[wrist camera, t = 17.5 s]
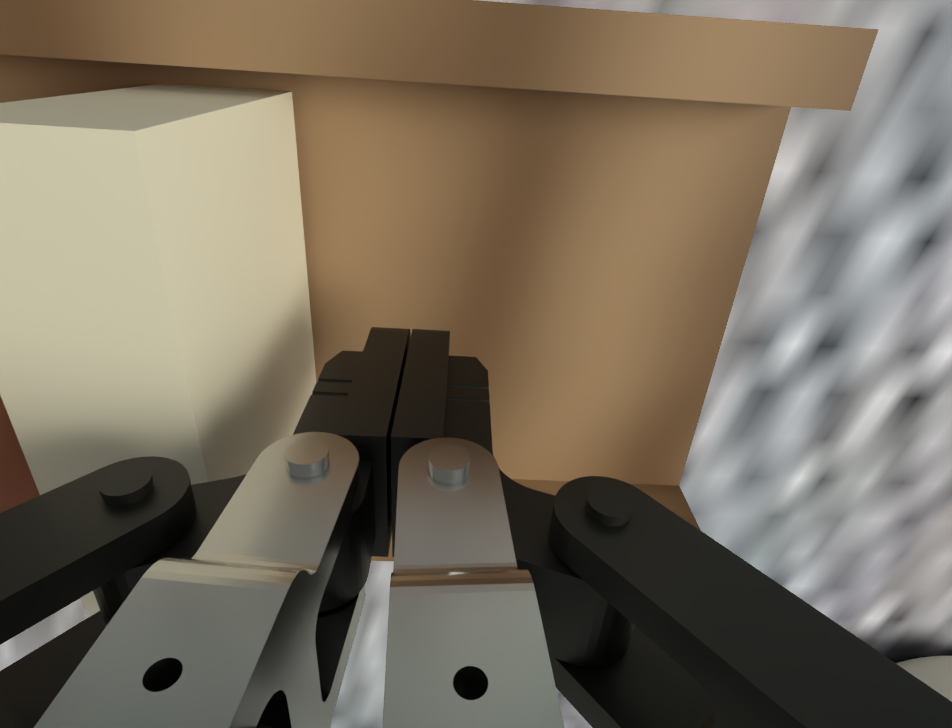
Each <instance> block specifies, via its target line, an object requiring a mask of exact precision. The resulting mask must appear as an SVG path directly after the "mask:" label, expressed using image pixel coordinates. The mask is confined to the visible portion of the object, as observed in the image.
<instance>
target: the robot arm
mask: <svg viewBox="0 0 952 728" xmlns="http://www.w3.org/2000/svg"><path fill="white" fill-rule="evenodd" d="M449 347H450V331H445V330H425V329H413V330H412V334H411V332H410V329H403V328H383V327H372V328H371V330H370V332H369V335H368V338H367V341H366V344H365V347H364V349H363V351H341V352H340V353H338V354H337V355H336V356H334V357H333V358H332V359H330V360H329V361H328V362H326V363H325V365H324V367H323V369H322V371H321V374H320V376H319V378H318V382H316V385H315V387H314V389H313V391H312V395H310V398H309V400H308V402H307V404H306V406H305V409H304V411H303V413H302V415H301V417H300V420H299V422H298V424H297V426H296V428H295V431H294V433H293V435H291V436H288V437H285V438H282V439H280V440H278V441H276V442H274V443H272V444H271V445H269V446H268V447H267V448H266V449H264V450H263V451H262V452H261V454H260V455H259V456H258V458H257V459H256V461H255V462H254V464H253V465H252V467H251V468H250V470H249V472H248V473H247V474H245V475H241V476H237V477H233V478H228V479H222V480H216V481H211V482H205V483H199V484H193V485H191V481H190V477H189V473H188V471H187V469H186V468H185V467H184V466H183V465H182V464H181V463H179V462H177V461H175V460H172V459H169V458H164V457H155V456H149V457H137V458H131V459H126V460H122V461H119V462H116V463H112V464H110V465H107V466H105V467H102V468H100V469H98V470H96V471H93V472H91V473H89V474H87V475H84V476H82V477H80V478H78V479H75V480H73V481H71V482H69V483H67V484H64V485H62V486H60V487H58V488H55V489H53V490H51V491H49V492H46V493H44V494H42V495H40V496H37V497H35V498H33V499H31V500H28V501H26V502H24V503H22V504H19V505H17V506H15V507H13V508H10V509H8V510H6V511H4V512H1V513H0V644H2V643H4V642H5V641H7V640H9V639H11V638H12V637H14V636H16V635H17V634H19V633H21V632H23V631H24V630H26V629H28V628H30V627H31V626H33V625H35V624H36V623H38V622H40V621H42V620H43V619H45V618H47V617H48V616H50V615H52V614H54V613H55V612H57V611H59V610H60V609H62V608H64V607H66V606H67V605H69V604H71V603H72V602H74V601H76V600H78V599H79V598H81V597H83V596H84V595H86V594H88V593H90V592H91V591H93V592H94V595H95V598H96V600H97V603H98V606H99V608H100V611H98V612H97V613H95V614H94V615H92V616H90V617H89V618H87V619H85V620H84V621H82V622H80V623H79V624H77V625H76V626H74V627H72V628H71V629H69V630H67V631H66V632H64V633H62V634H61V635H59V636H57V637H56V638H54V639H53V640H51V641H49V642H48V643H46V644H44V645H43V646H41V647H39V648H38V649H36V650H35V651H33V652H31V653H30V654H28V655H26V656H25V657H23V658H21V659H20V660H18V661H16V662H15V663H13V664H12V665H10V666H8V667H7V668H5V669H3V670H2V671H0V728H330V726H331V721H332V717H333V713H334V709H335V705H336V702H337V698H338V695H339V691H340V687H341V684H342V680H343V677H344V673H345V670H346V666H347V662H348V659H349V655H350V652H351V648H352V644H353V641H354V637H355V634H356V630H357V627H358V623H359V619H360V616H361V612H362V609H363V605H364V601H365V583H366V580H367V577H368V573H369V568H370V562H371V557H372V556H377V557H388V555H389V548H390V542H391V536H392V557H394V570H393V573H391V582H390V598H389V616H388V635H387V653H386V672H385V690H384V709H383V727H382V728H564V724H563V719H562V714H561V709H560V705H559V700H558V695H557V691H556V688H557V689H558V690H559V691H560V692H561V693H562V694H563V696H564V697H565V698H566V699H567V700H568V701H569V702H570V703H571V704H572V705H573V706H574V708H575V709H576V710H577V711H578V712H579V713H580V714H581V715H582V716H583V717H584V718H585V720H586V721H587V722H588V723H589V724H590V725H591V726H592V727H593V728H952V701H950V700H949V699H947V698H946V697H944V696H943V695H941V694H940V693H938V692H937V691H935V690H934V689H932V688H931V687H930V686H928V685H927V684H925V683H924V682H922V681H921V680H919V679H918V678H916V677H915V676H913V675H912V674H910V673H909V672H907V671H906V670H905V669H903V668H902V667H900V666H899V665H897V664H896V663H894V662H893V661H891V660H890V659H888V658H887V657H885V656H884V655H882V654H881V653H880V652H878V651H877V650H875V649H874V648H872V647H871V646H869V645H868V644H866V643H865V642H863V641H862V640H860V639H859V638H857V637H856V636H855V635H853V634H852V633H850V632H849V631H847V630H846V629H844V628H843V627H841V626H840V625H838V624H837V623H835V622H834V621H832V620H831V619H830V618H828V617H827V616H825V615H824V614H822V613H821V612H819V611H818V610H816V609H815V608H813V607H812V606H810V605H809V604H807V603H806V602H805V601H803V600H802V599H800V598H799V597H797V596H796V595H794V594H793V593H791V592H790V591H788V590H787V589H785V588H784V587H782V586H781V585H780V584H778V583H777V582H775V581H774V580H772V579H771V578H769V577H768V576H766V575H765V574H763V573H762V572H760V571H759V570H757V569H756V568H755V567H753V566H752V565H750V564H749V563H747V562H746V561H744V560H743V559H741V558H740V557H738V556H737V555H735V554H734V553H732V552H731V551H730V550H728V549H727V548H725V547H724V546H722V545H721V544H719V543H718V542H716V541H715V540H713V539H712V538H710V537H709V536H707V535H706V534H705V533H703V532H702V531H700V530H699V529H697V528H696V527H694V526H693V525H691V524H690V523H688V522H687V521H685V520H684V519H682V518H681V517H680V516H678V515H677V514H675V513H674V512H672V511H671V510H669V509H668V508H666V507H665V506H663V505H662V504H660V503H659V502H657V501H656V500H655V499H653V498H652V497H650V496H649V495H647V494H646V493H644V492H643V491H641V490H640V489H638V488H636V487H635V486H633V485H631V484H629V483H626V482H624V481H621V480H618V479H614V478H610V477H603V476H586V477H580V478H576V479H574V480H571V481H569V482H567V483H566V484H564V485H563V486H562V487H561V488H560V489H559V490H558V492H557V494H556V496H555V495H552V494H548V493H544V492H541V491H537V490H534V489H531V488H528V487H525V486H523V485H521V484H519V483H517V482H515V481H514V480H512V479H510V478H509V477H508V476H507V475H505V474H504V473H503V472H502V471H501V470H500V468H499V467H498V464H497V461H496V459H495V458H494V456H493V448H492V431H491V414H490V403H489V402H490V397H489V380H488V370H487V369H486V368H485V367H484V366H483V364H482V363H481V362H480V361H479V360H478V358H477V357H469V356H449Z"/></svg>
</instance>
